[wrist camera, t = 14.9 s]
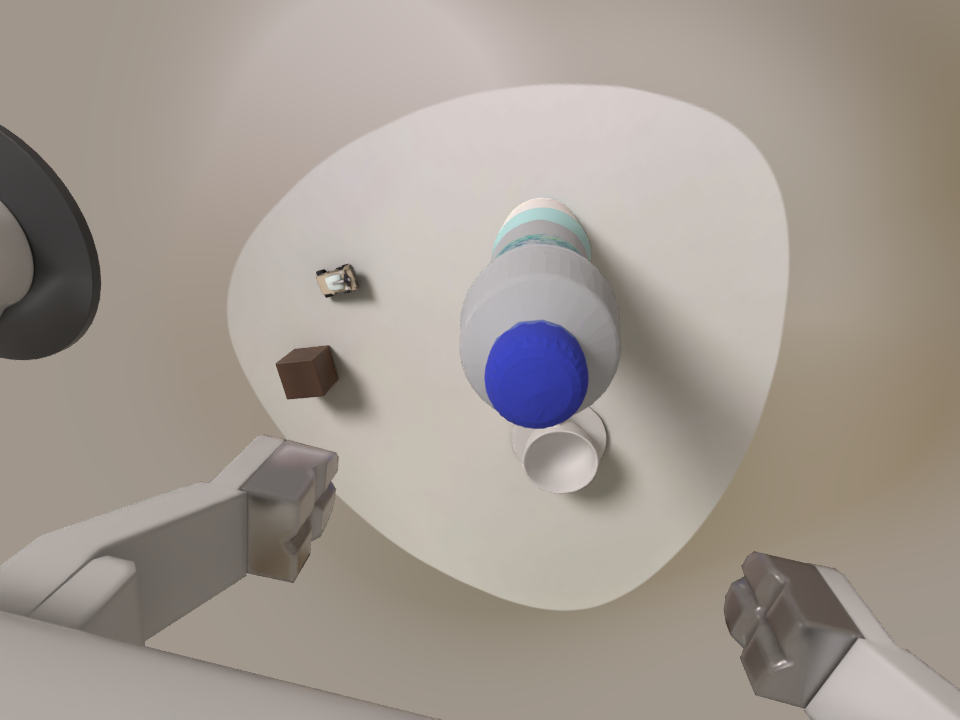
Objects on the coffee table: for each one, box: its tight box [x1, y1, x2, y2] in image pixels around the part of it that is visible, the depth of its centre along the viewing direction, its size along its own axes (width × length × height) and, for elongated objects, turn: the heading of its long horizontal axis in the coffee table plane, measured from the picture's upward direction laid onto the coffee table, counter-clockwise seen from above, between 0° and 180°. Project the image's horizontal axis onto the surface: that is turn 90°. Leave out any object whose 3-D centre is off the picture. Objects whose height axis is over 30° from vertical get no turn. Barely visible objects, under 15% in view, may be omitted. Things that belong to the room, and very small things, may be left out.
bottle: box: [460, 220, 620, 429], centre depth 24 cm, size 7×7×20 cm
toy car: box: [316, 264, 359, 298], centre depth 47 cm, size 3×4×2 cm, turn 105°
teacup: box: [512, 407, 606, 494], centre depth 50 cm, size 10×10×5 cm
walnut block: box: [276, 346, 338, 399], centre depth 50 cm, size 4×4×4 cm
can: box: [492, 198, 591, 262], centre depth 38 cm, size 7×7×12 cm
